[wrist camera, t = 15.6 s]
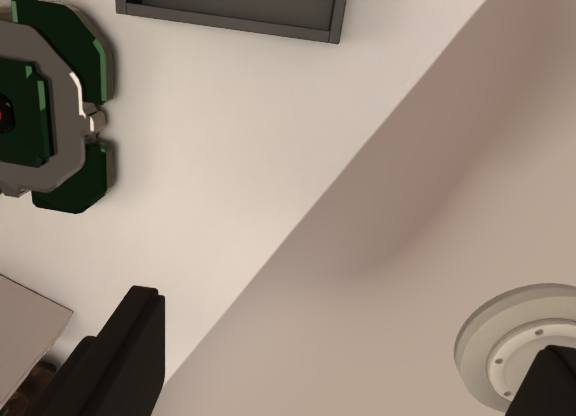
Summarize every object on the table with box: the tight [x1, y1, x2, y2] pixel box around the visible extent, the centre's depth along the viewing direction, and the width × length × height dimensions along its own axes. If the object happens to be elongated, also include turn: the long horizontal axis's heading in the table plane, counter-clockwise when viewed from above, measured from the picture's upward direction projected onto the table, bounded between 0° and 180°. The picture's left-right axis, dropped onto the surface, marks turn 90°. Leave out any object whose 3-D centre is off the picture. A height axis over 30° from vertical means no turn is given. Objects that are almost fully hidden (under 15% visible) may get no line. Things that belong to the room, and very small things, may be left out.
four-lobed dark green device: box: [0, 0, 113, 214], centre depth 34 cm, size 18×18×5 cm
